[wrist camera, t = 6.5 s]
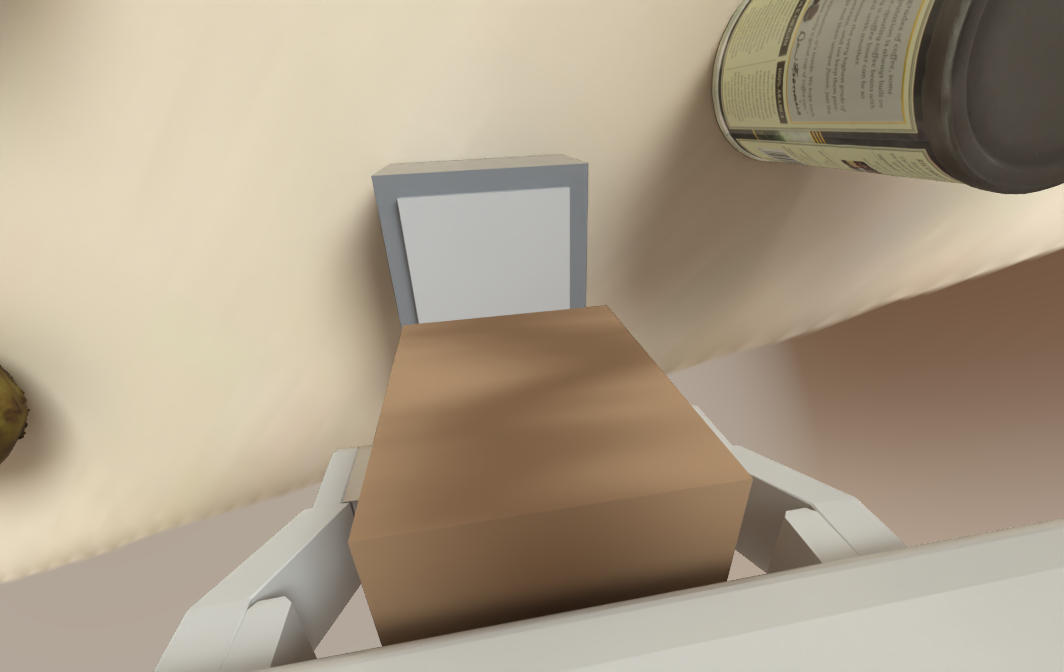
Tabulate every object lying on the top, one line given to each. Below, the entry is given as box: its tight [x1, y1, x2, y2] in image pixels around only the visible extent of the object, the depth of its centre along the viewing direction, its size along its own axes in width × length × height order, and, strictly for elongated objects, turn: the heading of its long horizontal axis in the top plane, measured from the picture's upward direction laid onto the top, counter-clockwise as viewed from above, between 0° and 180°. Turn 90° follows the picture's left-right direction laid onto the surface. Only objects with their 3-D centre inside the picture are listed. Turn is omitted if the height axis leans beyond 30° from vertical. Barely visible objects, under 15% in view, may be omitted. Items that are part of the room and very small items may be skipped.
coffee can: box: [712, 0, 1064, 194], centre depth 19 cm, size 10×10×14 cm
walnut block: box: [348, 305, 753, 647], centre depth 9 cm, size 5×5×6 cm
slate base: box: [371, 154, 588, 329], centre depth 25 cm, size 10×10×6 cm
